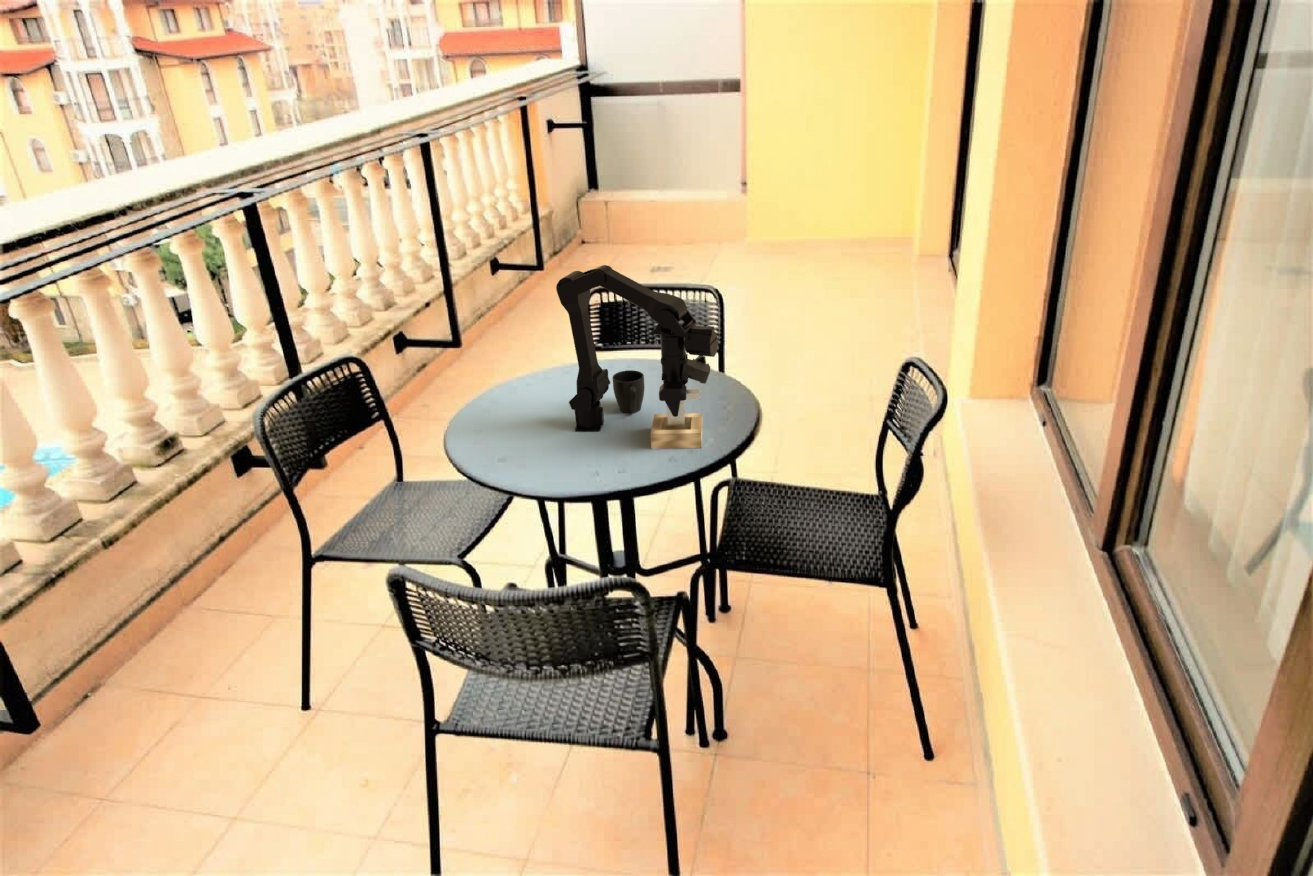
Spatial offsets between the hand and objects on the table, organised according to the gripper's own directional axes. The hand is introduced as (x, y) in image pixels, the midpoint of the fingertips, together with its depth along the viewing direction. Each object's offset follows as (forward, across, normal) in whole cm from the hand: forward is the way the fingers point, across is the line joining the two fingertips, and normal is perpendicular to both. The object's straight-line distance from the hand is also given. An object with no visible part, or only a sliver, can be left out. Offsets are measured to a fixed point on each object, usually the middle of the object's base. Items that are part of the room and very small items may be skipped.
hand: (676, 412), depth 203 cm
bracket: (+2, 0, -2) cm, 3 cm away
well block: (+7, 0, 0) cm, 7 cm away
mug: (+7, +16, +13) cm, 21 cm away
